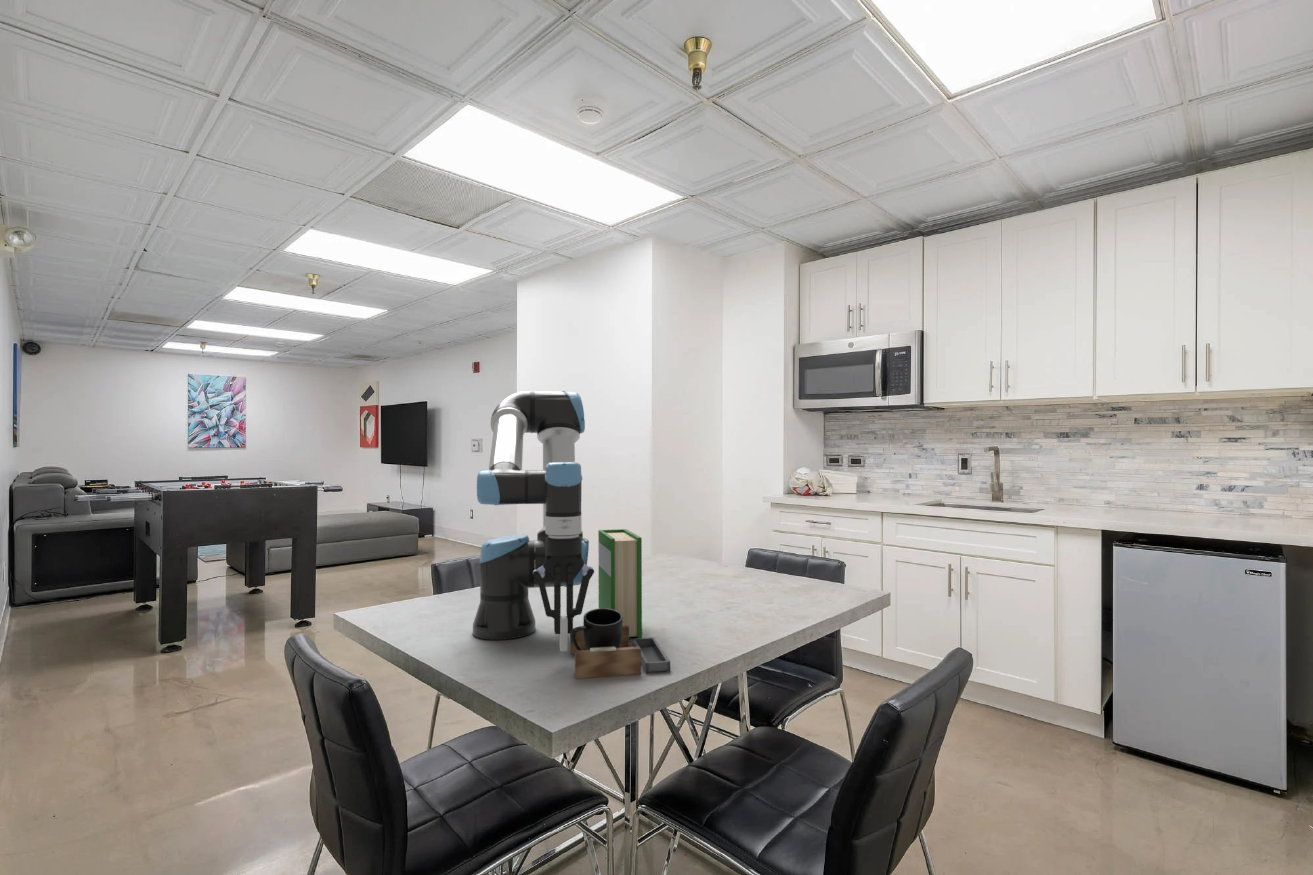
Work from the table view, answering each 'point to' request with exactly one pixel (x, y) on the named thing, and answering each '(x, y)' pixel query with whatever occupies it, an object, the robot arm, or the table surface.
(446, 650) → the table surface
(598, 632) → the mug
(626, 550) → the hardback book
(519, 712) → the table surface
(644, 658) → the tray
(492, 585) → the robot arm
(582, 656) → the lane walls
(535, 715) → the table surface
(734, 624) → the table surface
